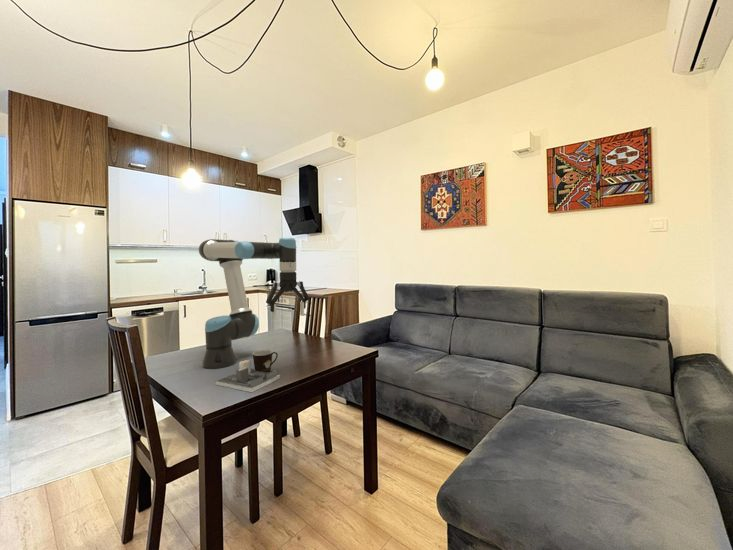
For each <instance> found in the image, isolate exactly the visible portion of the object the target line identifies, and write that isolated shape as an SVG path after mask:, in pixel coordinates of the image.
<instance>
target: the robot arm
mask: <svg viewBox="0 0 733 550" xmlns="http://www.w3.org/2000/svg"><path fill="white" fill-rule="evenodd" d="M198 253H199V255H200V256H201V258H203V259H204V260H206V261H208V262H209V261H210V262H218V263H219V266H220V267H221V268H222V269H223V274H224V278H225V285H226V288H227V289H226V291H227V296H228V300H229V304H230V310H231V311H230V312H229V315H221V316H219V315H218V316H214V317H211V318H209V319H208V320H206V321H205V323H204V331H205V332H204V333H205V353H204V356H203V360H202V368H205V369H221V368H226V367H230V366H232V365H234V364H236V363H237V358H236V355H235V351H234V349H233V347H232V341H235V340H236V341H237V340H238V339H244V338H249V337H252V336H254V335H256V334H257V332H258V331H259V327H260V321H259V317H258V316H257V314H255V313H253V310H252V309H251V308H249V305H248V300H247V299H248V298H247V295H246V294H247V293H246V289H245V284H244V279H243V274H242V269H241V265H242V264H243V260H252V259H253V260H254V259H255V260H256V259H257V260H259V259H264V260H266V259H268V260H270V259H271V260H273V259H276V260H277V259H279V261H278V262H279V271H280V272H279V282H272V286H271V287H272V288H271V289H270V292H269V295H268V297H267V298H266V301H265V303H266V304H268V305H270V306H269V307H270V308H269V309H270V312H271V313H272V314H271V315H272V316H271V317H272V318H271V319H273V320H277V304H276V302H278V300H279V299H280V297H281V296H282V295H283V294H284V293H288V292H290V293H291V292H293V293H294V294H295V295H296V296H297V298H298V299H300V301H299V310H300V311H299V314H300V316H301V317H304V316H305V309H306V308H307V307H306V306H307V305H306V303H307V301H310V296H309V295H308V293H307V291H306V289H305V287H304V282H303V281H301V280H299V281H297V272H296V271H297V240H296V239H295V238H293V237H279V241H278V242H264V241H263V242H258V241H246V240H244V241H239V240H234V239H215V238H212V239H211V238H210V239H206V240H204V241H202V242H201V243H200V245H199V247H198ZM297 287H298V288H299V290H300V291H299V290H298V288H297ZM278 288H279V289H278ZM277 289H278V291H277ZM276 291H277V293H276ZM301 293H302V294H301ZM274 295H275V296H274Z"/></svg>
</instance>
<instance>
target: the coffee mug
mask: <svg viewBox="0 0 733 550" xmlns="http://www.w3.org/2000/svg"><path fill="white" fill-rule="evenodd" d="M274 354H275V355H276V356H275V359H274V360H273V355H274ZM278 356H279V355H278V352H276V351H273V350H269V349H263V350H257V351H254V352H252V359H253V360H252V361H253V365H254V370H255V371H264V372H271V371H272V365H273V364H274V363H275V362H276V361H277V359H278Z"/></svg>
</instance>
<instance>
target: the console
mask: <svg viewBox="0 0 733 550" xmlns="http://www.w3.org/2000/svg"><path fill="white" fill-rule="evenodd" d="M280 377H281V375H280V374H277V369H272V370H271V372H264V371H255V369H252V368H251V372H248V378H249V380H247V381H245V382H238V381H237V379H236V372H235V373H232V374H230V375H227V376H225V377H222V378H220V379H217V380H215V386H216V385H217V386H220V387H223V388H230V389H233V390H239V391H242V392H243V391H244V392H247V393H253V392H255V391H257V390H259V389H262V388H263V387H266V386H268V385H270V384H271V383H273V382H275V381H277V380H280Z"/></svg>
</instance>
